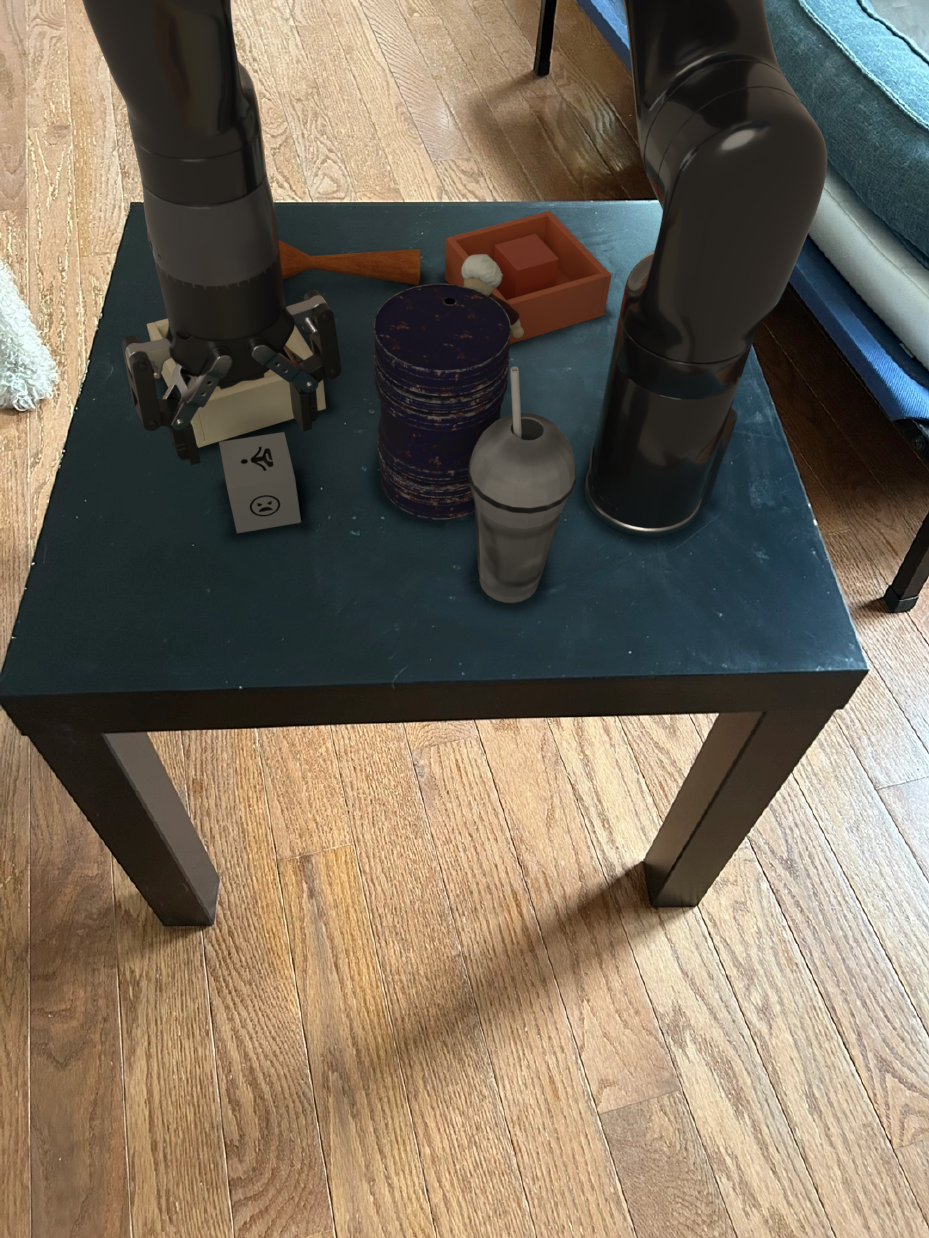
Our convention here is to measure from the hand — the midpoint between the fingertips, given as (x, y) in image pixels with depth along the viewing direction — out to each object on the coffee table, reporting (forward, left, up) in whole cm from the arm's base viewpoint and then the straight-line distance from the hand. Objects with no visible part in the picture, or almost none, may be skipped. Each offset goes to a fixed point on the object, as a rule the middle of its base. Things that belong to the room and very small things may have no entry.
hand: (248, 440), depth 73 cm
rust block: (-32, -15, -7) cm, 36 cm away
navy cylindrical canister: (-14, +3, -7) cm, 16 cm away
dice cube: (0, 0, -7) cm, 7 cm away
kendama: (-15, -25, -7) cm, 30 cm away
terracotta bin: (-32, -15, -7) cm, 36 cm away
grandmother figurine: (-22, -6, -7) cm, 24 cm away
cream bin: (-3, -14, -7) cm, 16 cm away
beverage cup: (-14, +15, -7) cm, 22 cm away
